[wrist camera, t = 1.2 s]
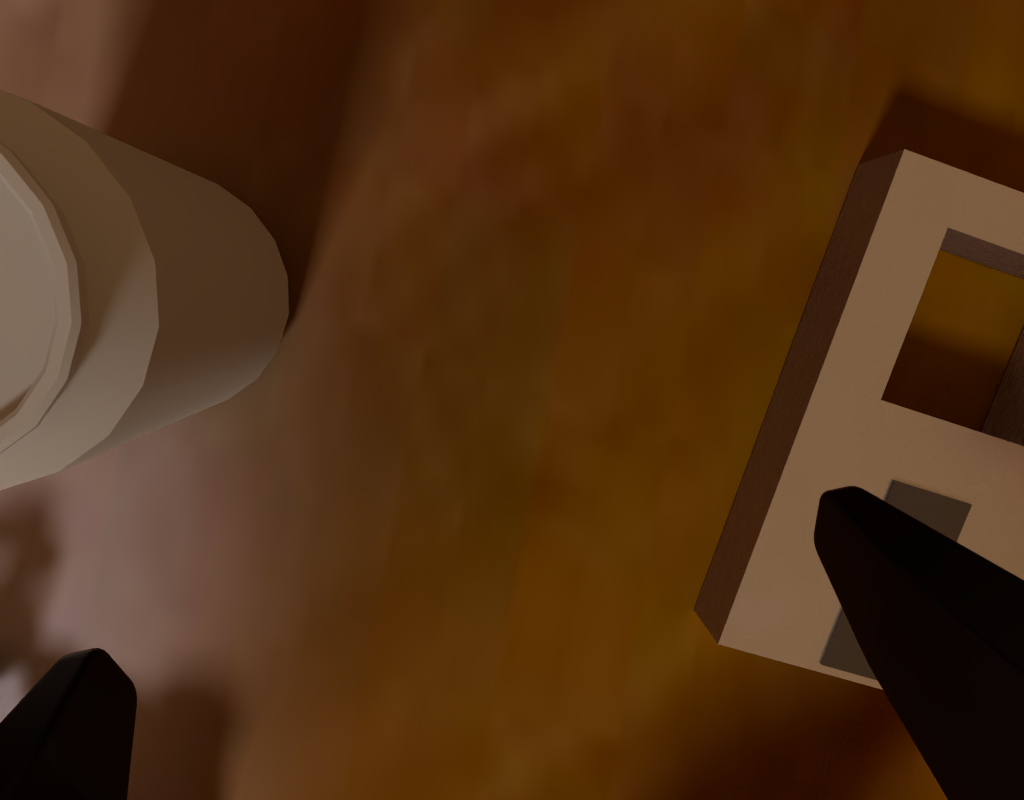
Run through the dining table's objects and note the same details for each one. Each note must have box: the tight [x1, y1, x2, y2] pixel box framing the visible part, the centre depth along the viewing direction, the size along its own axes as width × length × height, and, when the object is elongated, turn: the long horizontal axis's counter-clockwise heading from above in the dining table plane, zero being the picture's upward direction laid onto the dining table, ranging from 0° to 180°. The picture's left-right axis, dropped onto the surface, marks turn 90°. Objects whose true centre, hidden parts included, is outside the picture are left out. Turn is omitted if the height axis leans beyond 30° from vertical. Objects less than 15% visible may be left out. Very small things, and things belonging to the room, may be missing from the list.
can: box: [0, 90, 289, 490], centre depth 17 cm, size 8×8×12 cm
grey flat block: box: [694, 149, 1024, 690], centre depth 24 cm, size 16×10×3 cm, turn 162°
